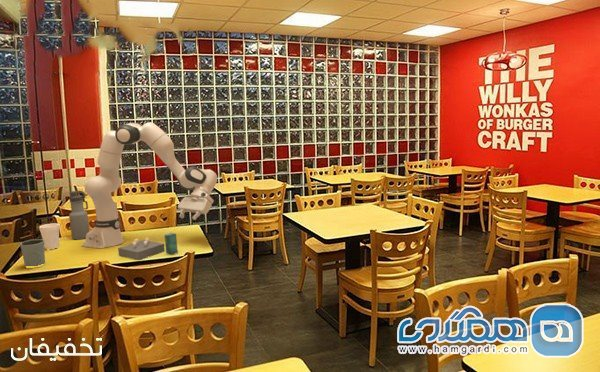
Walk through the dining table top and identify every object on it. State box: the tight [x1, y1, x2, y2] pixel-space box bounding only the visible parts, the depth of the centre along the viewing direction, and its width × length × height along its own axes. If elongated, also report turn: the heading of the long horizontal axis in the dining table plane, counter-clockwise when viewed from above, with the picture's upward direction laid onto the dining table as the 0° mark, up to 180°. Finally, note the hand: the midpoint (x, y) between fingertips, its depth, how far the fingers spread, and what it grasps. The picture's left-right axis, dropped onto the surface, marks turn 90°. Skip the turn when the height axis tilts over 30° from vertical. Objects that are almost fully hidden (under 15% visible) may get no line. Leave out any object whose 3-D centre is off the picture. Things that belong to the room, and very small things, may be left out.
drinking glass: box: [20, 238, 46, 267], centre depth 220 cm, size 10×10×12 cm
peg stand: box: [117, 237, 166, 261], centre depth 233 cm, size 16×16×7 cm
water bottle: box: [68, 190, 90, 241], centre depth 267 cm, size 10×10×28 cm
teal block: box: [164, 232, 179, 256], centre depth 231 cm, size 4×4×10 cm
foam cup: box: [38, 222, 60, 250], centre depth 248 cm, size 10×9×13 cm
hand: (187, 218), depth 239 cm, fingers open, 8 cm apart
